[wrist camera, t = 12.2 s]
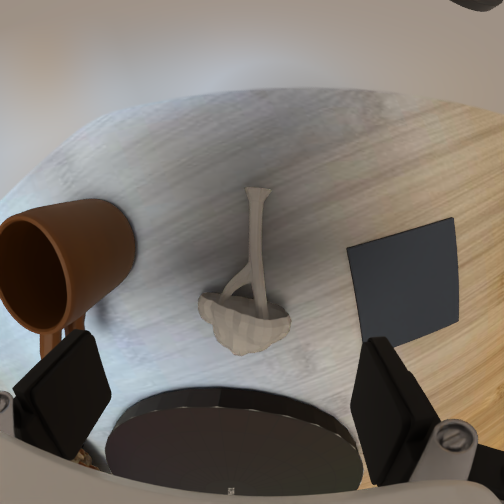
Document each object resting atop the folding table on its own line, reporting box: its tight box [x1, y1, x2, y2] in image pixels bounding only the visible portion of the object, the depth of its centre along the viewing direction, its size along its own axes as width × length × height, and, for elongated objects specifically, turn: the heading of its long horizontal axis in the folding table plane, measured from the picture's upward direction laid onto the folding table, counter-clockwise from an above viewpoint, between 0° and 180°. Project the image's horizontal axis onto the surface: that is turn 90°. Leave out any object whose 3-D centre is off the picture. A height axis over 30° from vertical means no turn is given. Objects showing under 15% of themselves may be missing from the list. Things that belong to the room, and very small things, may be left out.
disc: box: [105, 388, 364, 496], centre depth 27 cm, size 30×30×3 cm
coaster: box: [347, 217, 459, 348], centre depth 23 cm, size 10×10×1 cm
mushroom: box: [198, 187, 292, 356], centre depth 21 cm, size 7×5×12 cm
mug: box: [0, 199, 135, 359], centre depth 19 cm, size 12×8×9 cm, turn 176°
